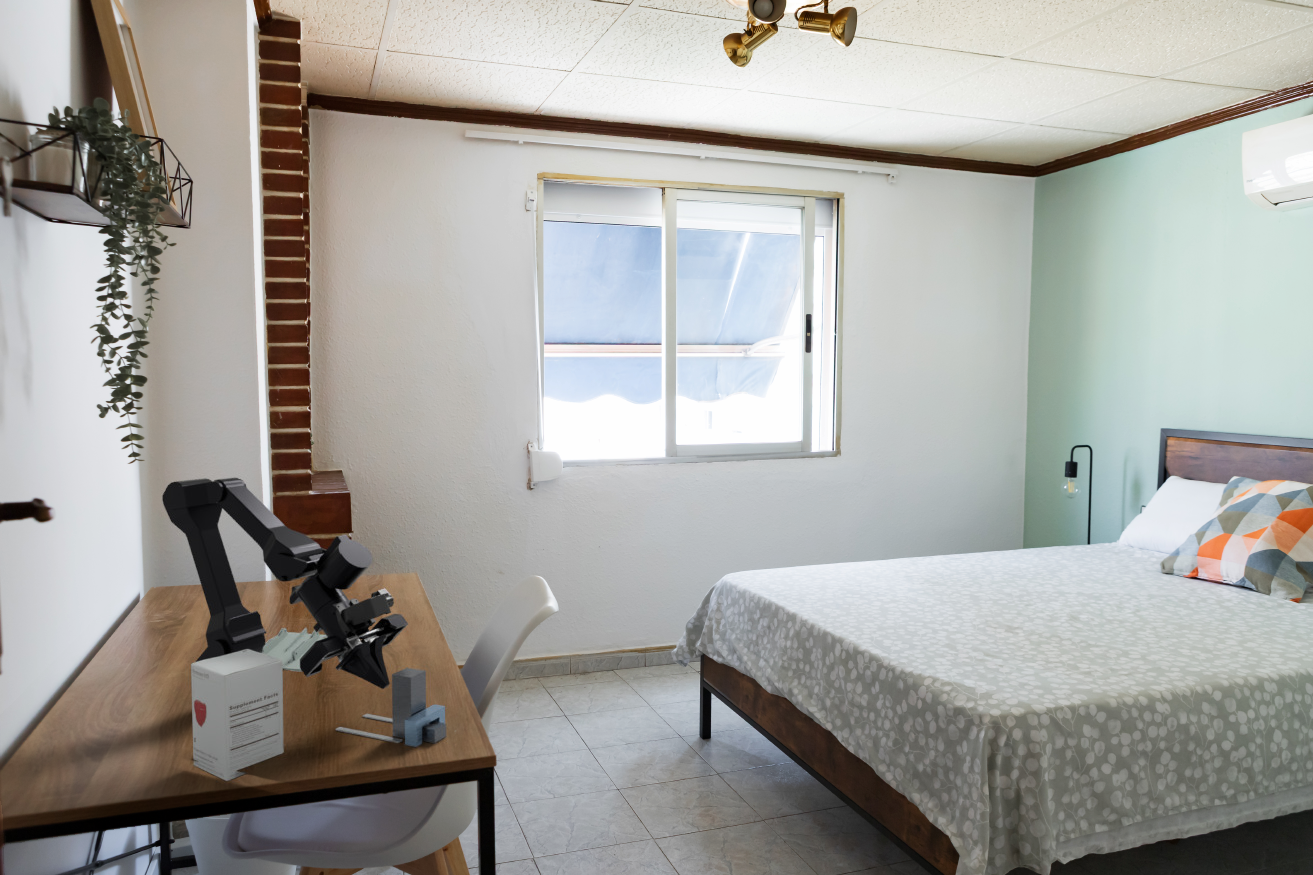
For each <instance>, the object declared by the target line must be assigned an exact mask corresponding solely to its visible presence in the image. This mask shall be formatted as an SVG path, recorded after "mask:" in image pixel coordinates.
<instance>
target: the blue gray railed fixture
mask: <svg viewBox="0 0 1313 875" xmlns="http://www.w3.org/2000/svg"><path fill="white" fill-rule="evenodd" d="M362 718H365V719H370V720H376V721H381V722H385V723H390V724H391V723H392V724H393V718H391V717H386V716H380V715H374V714H371V713H365V714H363V715H362ZM431 721H435V722H441V723H446V706H445V705H440V704H435V703H434V704H433V705H430V706H429V707H426V709H424V710H423V711H421V712H419V713H417V714H415V715H413V716H411V717H409V718H407V719H405V738H404V745H405V746H408V747H409V746H410V747H416V748H417V747H419V746H420V745H422V744H423V741H422V726H424V725H426V724H428V723H429V722H431ZM335 731H338V732H342V733H347V734H352V735H357V736H361V737H366V738H370V739H375V740H381V741H386V742H391V743H396V744H400V743H401V742H403V738H399V737H394V736H388V735H382V734H377V733H373V732H367V731H364V730H363V731H362V730H358V729H352V728H348V727H342V726H339V727H337V728H335Z"/></svg>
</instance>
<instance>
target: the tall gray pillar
mask: <svg viewBox="0 0 1313 875" xmlns="http://www.w3.org/2000/svg"><path fill="white" fill-rule="evenodd" d="M426 672H427V671H426V670H423V669H418V668H417V669H416V668H409V667H406V668H403V669H401V670H399V671H397V672H395V673H392V674H391V695H392V696H391V698H392V699H391V700H392V702H391V705H392V707H391V708H392V716H391V717H392V719H393V723H392V737H394V738H399V739H405V719H407V718H409V717H411V716H413V715H415V714H417V713H419V712H421V711H423V710H424V709H426V708H427V676H426V674H427V673H426ZM445 738H447V723H446V722H445V723H441V722H435V721H431V722H429V723H428V724H426V725H424V726H422V742H427V743H430V744H436V743H438V742H439V741H441V740H443V739H445Z"/></svg>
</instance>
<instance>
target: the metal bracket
mask: <svg viewBox="0 0 1313 875" xmlns="http://www.w3.org/2000/svg"><path fill="white" fill-rule="evenodd" d="M324 638H327V636H326V635H325V634H320V631H319V632H316V631H315V630H314V629H313V631H312V633H308V628H307V627H305V628H304V629H303V630H302V631H300V632H288V630H287V628H285V627H281V628H280V630H279V632H278V634H277V635H275V636H273V637H272V638H269V639H268V640H267V641H265V645H264V647H263V650H262V653H264V654H267V655H268V656H271V657H274V658H278V659H281V660H282V671H283V669H284V670H286V671H288V670H290V671H291V672H303V671H302V670H301V669H300V659H301V657H302V656H303V655H304V654H305V653H306V652H307V651H308V650H309V648H310V647H311V646H312V645H313V644H314V643H315V642H316V641H319V640H321V639H324Z"/></svg>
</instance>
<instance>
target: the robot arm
mask: <svg viewBox="0 0 1313 875" xmlns="http://www.w3.org/2000/svg"><path fill="white" fill-rule="evenodd" d="M161 497H162V504H163V506H164V509H165V511H166V513H167V515H168V518H169V520H170V522H171V524H173V525H174V526H176V528H178V530H179V531H181V532H182V533H184V535H185V537H186V539H187V542H188V546H189V549H190V553H191V555H192V558H193V562H194V563H193V564H194V566H195V569H196V572H197V575H198V578H199V582H200V585H201V588H202V592H203V595H204V599H205V601H206V605H207V607H208V611H209V615H210V618H209V621H208V625H207V628H206V631H205V639H206V644H207V647H206V648H205V649H204V650H203V652H202V653H201V654H200V655H199V657H198V658H196V660H195V662H198V661H201V660H205V659H210V658H214V657H219V656H223V655H227V654H231V653H234V652H238V651H242V650H245V649H250V650H253V651H256V652H259V653H262V650H263V647H264V645H265V643H266V636H265V634H267V631H266V630H265V628H264V626H263V624H262V623H263V622H262V618H261V614H260V613H259V611H257V610H255V611H252V612H251V611H250V610H248V609H247V608H246V607H245V606H244V605H243V603H242V600H241V596H240V594H239V590H238V587H237V584H236V581H235V578H234V574H233V571H232V568H231V565H230V562H229V558H228V555H227V553H226V552H227V551H226V548H225V545H224V542H223V538H222V536H221V533H220V529H219V523H220V518H221V516H222V515H221V514H222V512H223V510H224V512H226V513H227V515H229V517H230V518H231V519H232V520H233V521H234V522H235V523H236V524H237V525H238V526H240V528H241V529H242V530H243V531H244V532H246V534H247V535H248V536H249V537H250V538H251V539H252V540H253V541H254V542H255V543H256V544H257V545H258V546H259V548H261V550H262V557H263V562H264V563H265V565H266V567H267V568H268V569H269V570H270V572H271V573H272V575H273V576H274V577H275V579H277V580H278V581H280V582H283V583H284V582H285V583H286V582H292V581H295V580H299V579H303V578H304V580H302V582H301V583H300V584H299V585H293V586H291V592H290V596H289V602H288V603H289V604H290V605H295V604H298V603H301V602H302V603H303V605H304V606H305V607H306V609H307V611H308V612H309V613H310V614H311V616H312V617H313V619H314V621H315V622H316V623H315V624H314V625H313V627H312V628H313V631H314V630H315V631H316V632H319V633H320V632H321V631H322V632H323V633H324V635H326V636H327V638H326V637H324V639H321V640H319V641H316V642H315V643H314V644H313V645H312V646H311V647H310V648H309V650H308V651H307V652H306V653H305V654H304V655H303V656H302V657H301V659H300V669H301V670H302V671H301V672H302V673H303V674H304V675H305V677H306V678H309V677H311V676H314V675H317V674H319V673H321V671H322V669H323V663H322V662H325V661H328V660H330V659H333V658H335V657H337V661H338V662H339V663H338V664H337V665H336V666H335V669H336V670H337V671H344V672H346V673H348V674H351V675H353V676H355V677H358V678H360V679H363V680H364V681H366V682H368V683H370V684H372V685H374V686H375V687H378V688H380V689H382V690H384V689H386V688H387V687H389V686H390V684H391V683H390V679H389V676H388V671H387V668H386V665H385V664H386V662H385V661H384V654H383V648H385V647H387V646H388V645H390V644H391V643H392V642H394V640H395V639H396V638H397V637H398V636H399V635H400V634H401V632H403V630H405V628H407V626H408V625H409V623H408V621H407V620H406V619H405V617H404V616H403V615H402V614H400V613H393V614H391V613H392V611H391V608H392V607H393V606H394V604H395V601H394V599H395V598H394V597H393V595H391V593H390V592H389V591H388V590H387V588H385V587H384V588H382V589H381V588H380V589H378V590H376V591H374V592H372V593H371V596H370V598H366V599H364V600H361V601H359V599H357V598H351V599H349V598H348V597H347V596H346V594H345V593H344V591H343V590H345V591H346V590H349V589H350V588H351V587H352V586H353V585H354V584H355V582H356V581H358V580H359V578H360V577H361V576H362V575H363V574H364V572H366V570H367V569H368V568H369V567H370V566H371V564H372V563H373V555H372V553H371V551H370V549H368V547H367V546H364V545H363V544H361V543H360V542H358V541H357V540H352V539H350V538H349V536H348V535H347V534H342V535H338V536H335V538H334V539H333V540H332V541H331V543H330V545H329V546H328V548H327V549H326V548H322V547H321V546H320V544H319V543H318V542H317V541H315V540H313V539H312V538H310V537H309V536H308V535H306V534H305V533H301V532H300V531H296V530H293V529H291V528H289V527H287V526H286V525H285V524H284V523H283V522H282V521H281V520H280V519H279V518H278V517H277V516H276V515H275V514H274V513H273V512H272V511H270V509H269V508H268V507H267V506H266V505H264V503H263V502H262V501H261V500H259V498H257V496H256V495H254V494H253V492H252V491H250V489H249V488H248V487H247V484H246V483H245V481H244V480H243V479H241V478H238V477H229V478H219V479H218V478H217V479H214V480H211V479H209V478H206V477H204V478H197V479H187V480H179V481H177V480H176V481H173V482H170V483H169V484H167V486H166V487H165V490H164V491H163V493H162V496H161ZM388 614H391V615H388ZM383 615H387V616H384V617H381V616H383ZM379 617H381V618H380V619H379V620H378V622H377V621H376V618H379ZM376 622H377V623H376ZM375 623H376V624H375ZM374 624H375V625H374ZM371 627H372V628H371ZM369 628H371V629H369Z"/></svg>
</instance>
